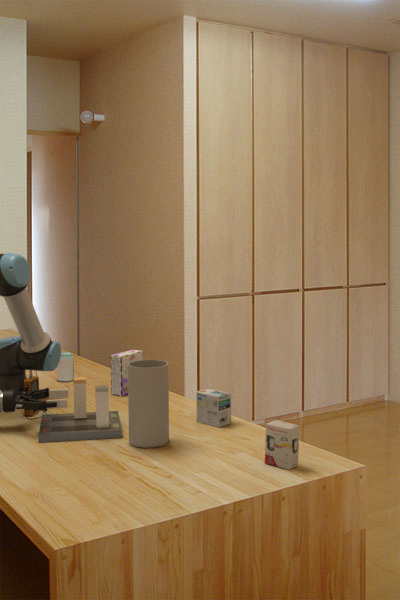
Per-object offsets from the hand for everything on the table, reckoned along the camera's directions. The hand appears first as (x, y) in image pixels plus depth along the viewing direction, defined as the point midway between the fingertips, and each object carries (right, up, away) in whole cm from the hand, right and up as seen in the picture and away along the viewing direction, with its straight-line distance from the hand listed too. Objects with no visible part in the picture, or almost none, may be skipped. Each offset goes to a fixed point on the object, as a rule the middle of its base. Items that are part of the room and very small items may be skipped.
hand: (67, 398), depth 235 cm
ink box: (+68, -14, -37) cm, 79 cm away
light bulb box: (+49, -9, +4) cm, 50 cm away
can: (-14, -2, +68) cm, 69 cm away
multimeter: (-12, -8, +15) cm, 21 cm away
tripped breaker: (+4, -7, +2) cm, 8 cm away
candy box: (+15, -4, +46) cm, 49 cm away
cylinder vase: (+29, -12, -17) cm, 35 cm away
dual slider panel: (+5, -10, -3) cm, 12 cm away
